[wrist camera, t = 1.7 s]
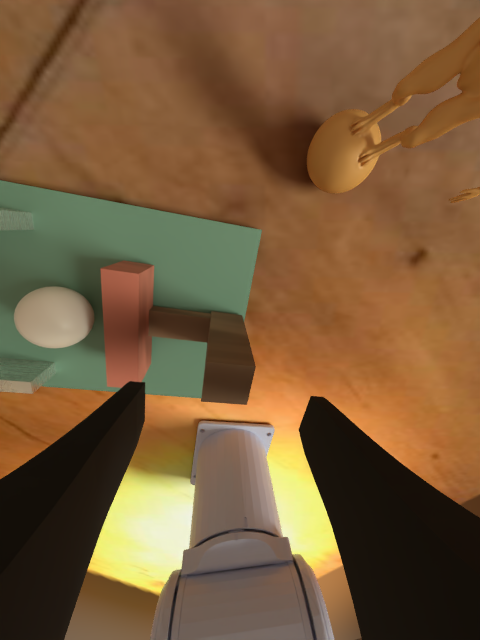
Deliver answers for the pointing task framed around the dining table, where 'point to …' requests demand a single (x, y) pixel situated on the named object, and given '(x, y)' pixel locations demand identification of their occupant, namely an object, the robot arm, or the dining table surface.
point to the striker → (170, 335)
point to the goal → (18, 371)
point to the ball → (54, 317)
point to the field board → (109, 248)
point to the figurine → (362, 129)
